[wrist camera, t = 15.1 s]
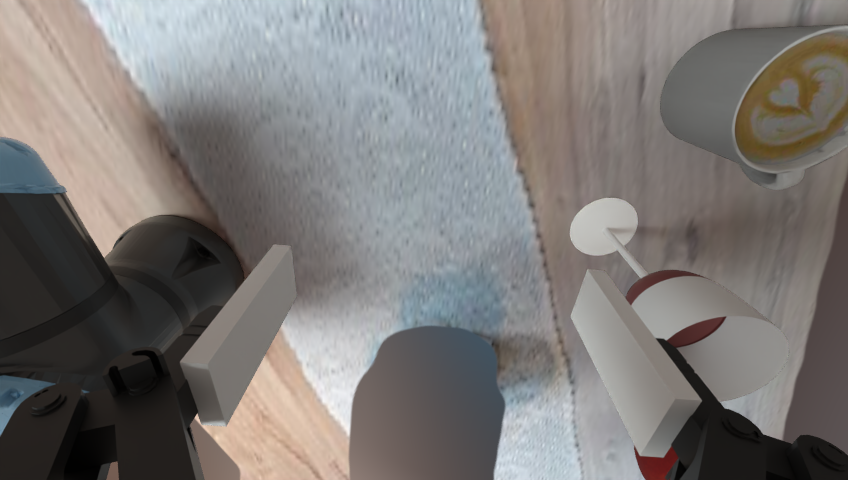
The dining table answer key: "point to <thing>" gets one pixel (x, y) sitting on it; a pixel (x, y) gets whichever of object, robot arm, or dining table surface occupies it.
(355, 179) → the dining table surface
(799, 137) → the coffee mug
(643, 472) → the apple
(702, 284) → the wineglass
